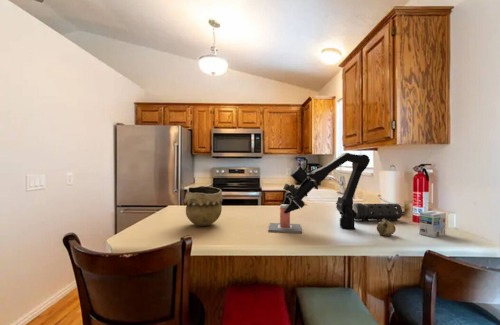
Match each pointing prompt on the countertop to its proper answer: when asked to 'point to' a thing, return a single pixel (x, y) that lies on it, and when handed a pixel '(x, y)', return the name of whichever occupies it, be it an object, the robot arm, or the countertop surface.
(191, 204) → the clay pot
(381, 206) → the muzzle brake
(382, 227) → the onion
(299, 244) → the countertop surface
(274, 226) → the mat
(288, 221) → the salt shaker
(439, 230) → the light bulb box
